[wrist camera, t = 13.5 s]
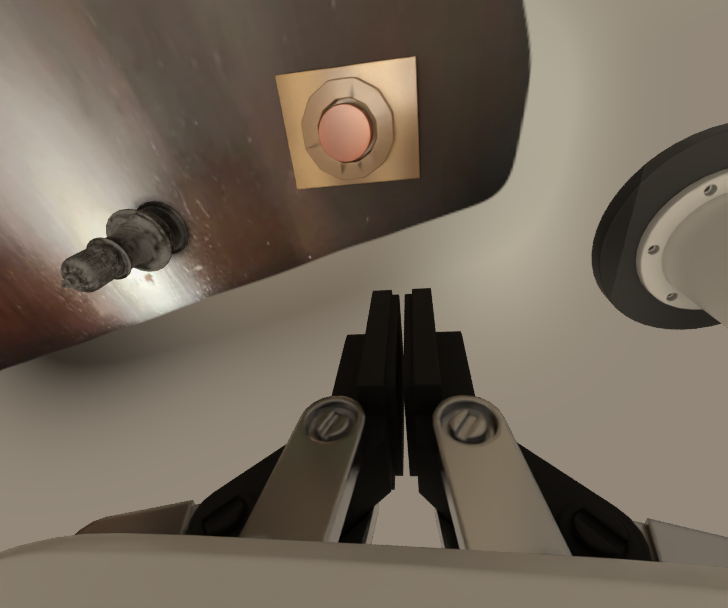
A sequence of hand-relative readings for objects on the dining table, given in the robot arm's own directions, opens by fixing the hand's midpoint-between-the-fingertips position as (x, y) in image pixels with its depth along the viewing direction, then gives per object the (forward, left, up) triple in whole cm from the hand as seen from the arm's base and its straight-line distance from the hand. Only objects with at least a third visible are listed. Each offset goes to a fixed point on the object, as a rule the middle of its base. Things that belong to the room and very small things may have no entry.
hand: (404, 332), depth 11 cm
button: (+4, -4, -19) cm, 20 cm away
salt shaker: (+24, +3, -23) cm, 34 cm away
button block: (+4, -4, -23) cm, 24 cm away
